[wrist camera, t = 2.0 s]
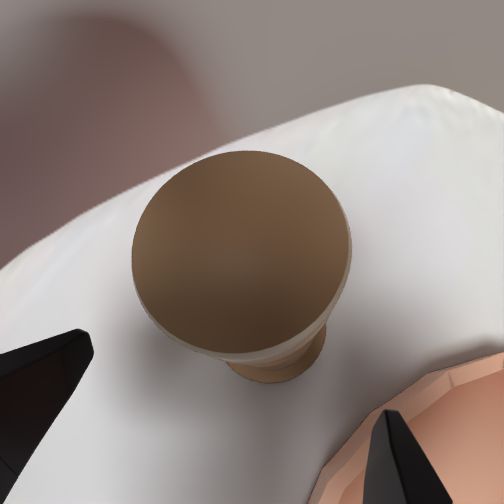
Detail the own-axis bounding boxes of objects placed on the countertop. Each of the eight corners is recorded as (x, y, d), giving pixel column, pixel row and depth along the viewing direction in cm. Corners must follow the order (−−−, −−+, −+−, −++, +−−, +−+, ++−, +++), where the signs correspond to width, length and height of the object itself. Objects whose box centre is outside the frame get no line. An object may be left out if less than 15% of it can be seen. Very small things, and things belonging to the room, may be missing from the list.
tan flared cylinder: (277, 404, 17) (248, 450, 5) (198, 336, 19) (67, 259, 7) (345, 321, 19) (425, 216, 7) (265, 261, 21) (228, 103, 9)
